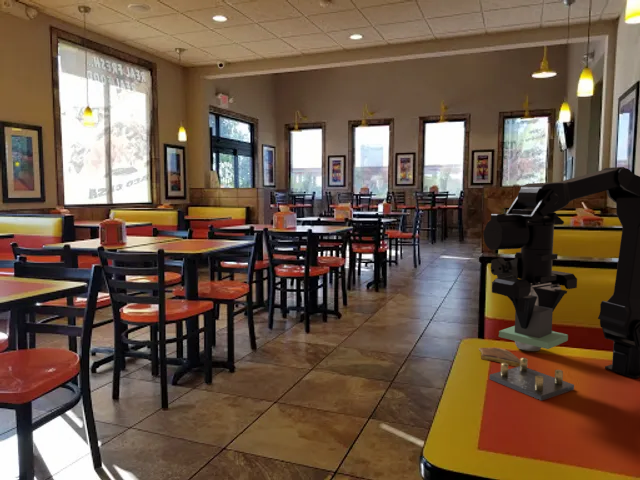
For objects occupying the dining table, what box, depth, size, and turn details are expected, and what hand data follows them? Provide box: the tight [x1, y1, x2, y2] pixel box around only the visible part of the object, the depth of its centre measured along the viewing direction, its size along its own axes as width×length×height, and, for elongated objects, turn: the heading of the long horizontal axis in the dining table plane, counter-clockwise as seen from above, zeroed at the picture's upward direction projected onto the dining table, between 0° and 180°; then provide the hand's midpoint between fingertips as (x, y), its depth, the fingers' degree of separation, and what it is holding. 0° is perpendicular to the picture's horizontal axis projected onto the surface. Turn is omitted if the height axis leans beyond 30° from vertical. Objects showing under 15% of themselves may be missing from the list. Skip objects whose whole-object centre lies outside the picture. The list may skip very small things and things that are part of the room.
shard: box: [478, 347, 520, 368], centre depth 112 cm, size 11×8×2 cm
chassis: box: [488, 357, 575, 402], centre depth 98 cm, size 10×12×4 cm
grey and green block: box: [498, 305, 569, 350], centre depth 97 cm, size 8×10×6 cm
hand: (533, 326), depth 97 cm, fingers closed on grey and green block, 5 cm apart
